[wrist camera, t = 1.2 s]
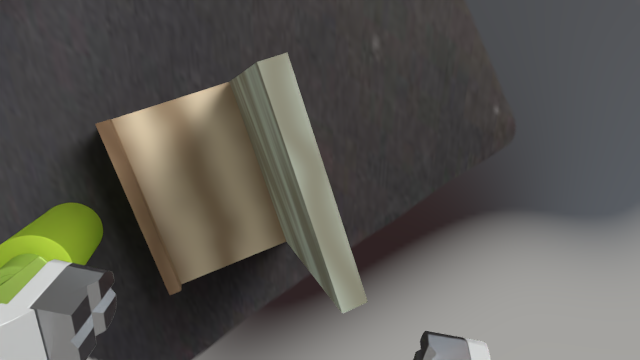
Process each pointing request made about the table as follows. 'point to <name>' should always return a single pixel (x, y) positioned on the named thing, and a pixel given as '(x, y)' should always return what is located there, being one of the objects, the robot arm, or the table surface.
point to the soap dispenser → (48, 245)
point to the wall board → (233, 181)
